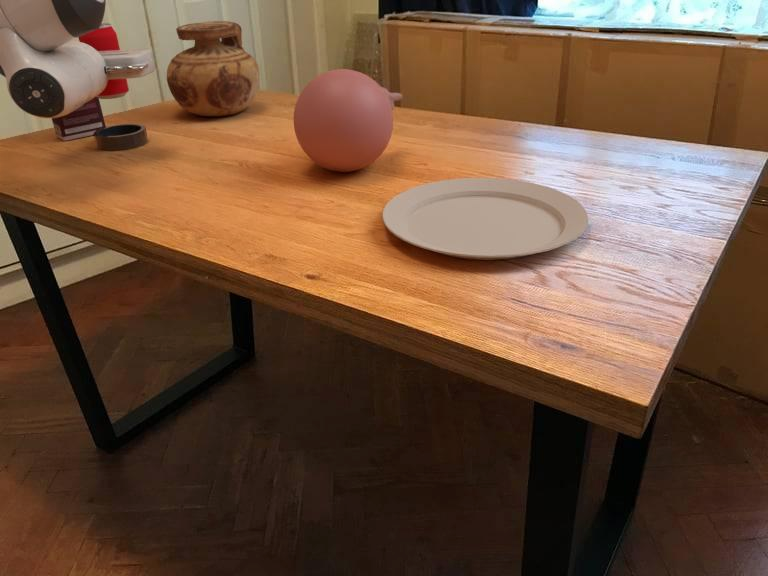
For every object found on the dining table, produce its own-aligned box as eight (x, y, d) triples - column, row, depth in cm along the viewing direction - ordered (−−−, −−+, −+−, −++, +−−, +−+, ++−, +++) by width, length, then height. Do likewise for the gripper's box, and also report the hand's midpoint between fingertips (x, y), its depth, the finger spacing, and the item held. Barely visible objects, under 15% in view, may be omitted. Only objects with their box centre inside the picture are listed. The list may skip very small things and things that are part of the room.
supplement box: (99, 128, 134) (79, 45, 126) (107, 132, 130) (87, 48, 123) (55, 137, 129) (31, 52, 121) (62, 142, 126) (38, 54, 118)
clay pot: (227, 113, 128) (181, 10, 123) (172, 139, 140) (128, 45, 134) (288, 92, 142) (249, -2, 137) (233, 117, 154) (196, 31, 148)
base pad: (96, 153, 118) (92, 139, 117) (97, 140, 126) (93, 127, 125) (149, 146, 121) (146, 133, 120) (147, 134, 129) (144, 121, 127)
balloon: (435, 163, 107) (436, 64, 100) (334, 193, 96) (326, 85, 89) (377, 143, 118) (373, 53, 110) (280, 168, 107) (269, 71, 100)
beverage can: (114, 91, 123) (98, 22, 117) (137, 94, 120) (122, 23, 114) (85, 98, 118) (68, 27, 112) (108, 101, 115) (91, 28, 109)
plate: (626, 223, 83) (628, 208, 83) (500, 295, 68) (501, 278, 67) (470, 178, 100) (471, 165, 99) (341, 228, 85) (340, 214, 84)
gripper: (138, 48, 103) (160, 35, 115) (5, 54, 102) (41, 41, 115) (147, 89, 106) (167, 72, 118) (18, 95, 105) (51, 78, 118)
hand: (104, 57), depth 116 cm, fingers closed on beverage can, 6 cm apart
